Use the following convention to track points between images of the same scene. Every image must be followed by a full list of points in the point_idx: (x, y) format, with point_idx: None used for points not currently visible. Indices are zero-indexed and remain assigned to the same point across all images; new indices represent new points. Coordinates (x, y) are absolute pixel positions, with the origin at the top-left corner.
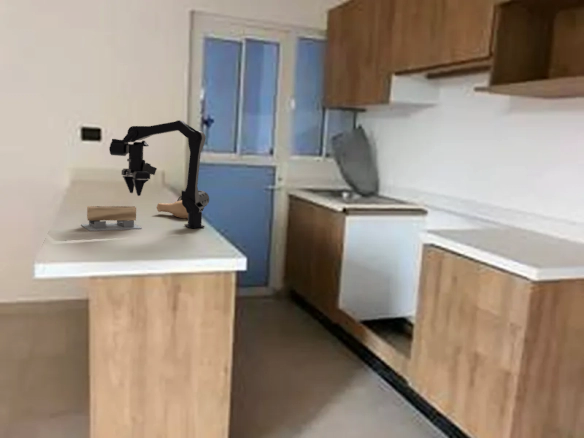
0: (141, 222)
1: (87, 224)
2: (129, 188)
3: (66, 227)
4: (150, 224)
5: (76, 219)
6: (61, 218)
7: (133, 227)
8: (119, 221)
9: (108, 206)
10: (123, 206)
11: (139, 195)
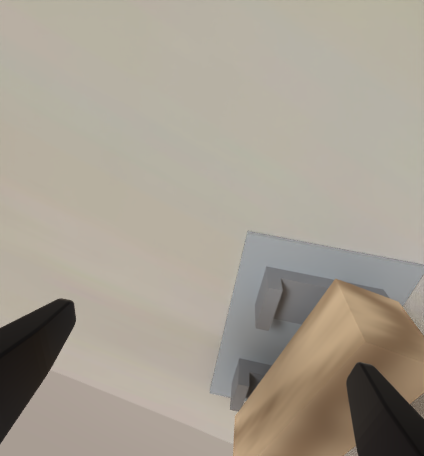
0: (236, 159)
1: (222, 383)
2: (33, 388)
3: (231, 426)
4: (330, 145)
5: (81, 350)
6: (55, 371)
7: (389, 294)
8: (275, 313)
9: (284, 442)
10: (325, 393)
11: (368, 372)
